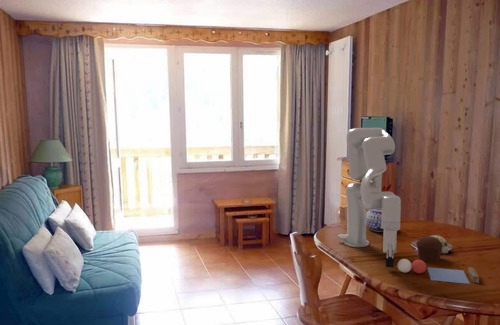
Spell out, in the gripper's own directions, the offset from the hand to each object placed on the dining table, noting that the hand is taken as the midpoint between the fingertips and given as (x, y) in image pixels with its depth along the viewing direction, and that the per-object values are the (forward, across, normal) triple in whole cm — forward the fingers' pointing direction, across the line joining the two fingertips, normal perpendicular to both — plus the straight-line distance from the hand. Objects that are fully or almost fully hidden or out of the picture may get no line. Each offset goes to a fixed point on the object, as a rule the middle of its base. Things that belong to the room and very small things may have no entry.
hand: (389, 266), depth 176 cm
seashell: (+2, -33, +21) cm, 39 cm away
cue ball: (-1, 0, +6) cm, 6 cm away
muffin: (+2, -20, +17) cm, 27 cm away
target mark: (+2, 0, +22) cm, 23 cm away
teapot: (+2, -63, -5) cm, 63 cm away
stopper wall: (+2, -1, +32) cm, 32 cm away
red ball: (-1, 0, +12) cm, 12 cm away
